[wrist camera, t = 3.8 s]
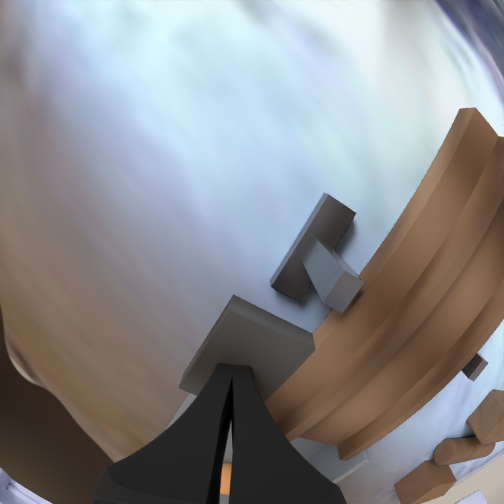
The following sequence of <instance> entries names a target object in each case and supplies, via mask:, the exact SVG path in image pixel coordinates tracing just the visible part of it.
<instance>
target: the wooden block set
mask: <svg viewBox="0 0 504 504" xmlns="http://www.w3.org/2000/svg"><path fill="white" fill-rule="evenodd" d="M466 422H467V424H468V425H469V427H470V428H471V430H472V431H473V433H474V434H475V436H476V437H465V438H451V439H445V440H443V441H442V442H441V443H439V444H438V445H437V447H436V448H435V451H434V460H428V461H424V462H423V463H422V464H420V465H419V466H418V467H417V468H415V469H414V470H413V471H412V472H410V473H409V474H408V475H407V476H405V477H404V478H403V479H401V480H400V481H399V482H397V483H396V484H394V486H395V489H396V491H397V494H398V497H399V500H400V503H401V504H421V503H424V502H427V501H429V500H432V499H435V498H438V497H440V496H443V495H445V493H446V492H447V491H448V490H449V489H450V488H451V487H452V486H453V484H454V483H455V482H456V479H455V477H454V475H453V473H452V471H451V469H450V467H449V465H450V464H455V463H460V462H465V461H469V460H473V459H478V458H481V457H485V456H488V455H489V454H490V453H491V452H492V451H493V449H494V447H495V442H499V441H504V391H500V390H495V389H493V390H491V391H490V392H489V394H488V395H487V396H486V398H485V399H484V400H483V401H482V402H481V404H480V405H479V406H478V407H477V408H476V410H475V411H474V412H473V413H472V414H471V415H470V416H469V417H468V419H467V420H466Z"/></svg>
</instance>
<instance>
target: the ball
mask: <svg viewBox="0 0 504 504" xmlns="http://www.w3.org/2000/svg"><path fill="white" fill-rule="evenodd" d="M231 466H232V463H223V467H222V476H221V489H220V494H226V495H229V491H230V479H231Z"/></svg>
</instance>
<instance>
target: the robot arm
mask: <svg viewBox="0 0 504 504" xmlns="http://www.w3.org/2000/svg"><path fill="white" fill-rule="evenodd" d="M230 424H231V427H232V450H233V453H232V466H231V479H230V491H229V504H347V503H346V501H345V498H344V496H343V494H342V492H341V490H340V488H339V486H337V485H336V484H335V483H333V482H332V481H330V480H329V479H328V478H326V477H325V476H324V475H323V474H321V473H320V472H319V471H318V470H317V469H315V468H314V467H313V466H312V465H311V464H310V463H309V462H308V461H307V460H306V459H305V458H304V457H303V456H302V455H301V454H300V453H299V452H298V451H297V450H296V449H295V448H294V447H293V445H292V444H291V443H290V442H289V440H288V439H287V438H286V437H285V435H284V434H283V433H282V431H281V430H280V428H279V427H278V426H277V424H276V422H275V421H274V419H273V418H272V416H271V414H270V412H269V411H268V409H267V407H266V405H265V403H264V401H263V399H262V397H261V395H260V392H259V390H258V388H257V385H256V382H255V379H254V376H253V371H252V367H250V366H249V365H235V364H224V363H218V364H216V365H215V368H214V370H213V372H212V374H211V376H210V377H209V379H208V381H207V382H206V384H205V385H204V387H203V388H202V390H201V391H200V393H199V394H198V396H197V397H196V398H195V399H194V401H193V402H192V403H191V404H190V406H189V407H188V408H187V409H186V410H185V412H184V413H183V414H182V415H181V416H180V417H179V418H178V419H177V420H176V421H175V422H174V423H173V424H172V425H171V426H170V427H169V428H167V429H166V430H165V431H164V432H163V433H162V434H160V435H159V436H158V437H157V438H155V439H154V440H153V441H151V442H150V443H149V444H147V445H146V446H144V447H142V448H141V449H139V450H138V451H136V452H135V453H133V454H131V455H130V456H128V457H126V458H124V459H122V460H120V461H118V462H116V463H114V464H112V465H110V466H108V467H106V469H105V470H104V472H103V473H102V475H101V477H100V478H99V480H98V482H97V484H96V487H95V489H94V492H93V494H92V497H91V501H92V502H93V504H219V503H220V489H221V476H222V467H223V460H224V455H225V450H226V445H227V440H228V434H229V429H230ZM0 504H52V503H50V502H48V501H47V500H45V499H43V498H41V497H39V496H38V495H36V494H34V493H33V492H31V491H29V490H28V489H26V488H24V487H23V486H21V485H19V484H18V483H16V482H15V481H14V480H12V479H11V478H10V477H9V476H8V474H7V473H6V472H5V471H4V470H3V469H2V468H0ZM455 504H487V502H486V499H485V497H484V496H483V494H482V492H481V490H477V491H475V492H474V493H472V494H470V495H468V496H467V497H465V498H463V499H461V500H459V501H458V502H456V503H455Z"/></svg>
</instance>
